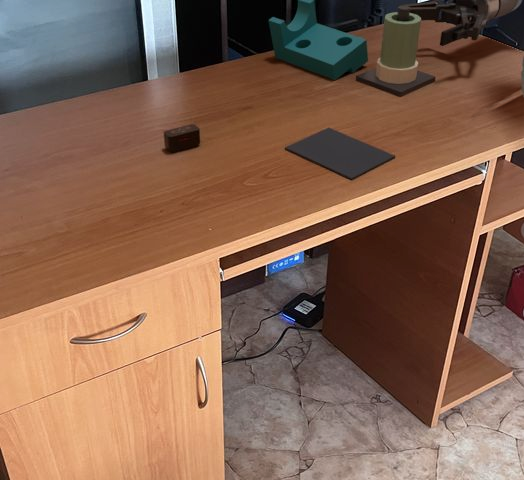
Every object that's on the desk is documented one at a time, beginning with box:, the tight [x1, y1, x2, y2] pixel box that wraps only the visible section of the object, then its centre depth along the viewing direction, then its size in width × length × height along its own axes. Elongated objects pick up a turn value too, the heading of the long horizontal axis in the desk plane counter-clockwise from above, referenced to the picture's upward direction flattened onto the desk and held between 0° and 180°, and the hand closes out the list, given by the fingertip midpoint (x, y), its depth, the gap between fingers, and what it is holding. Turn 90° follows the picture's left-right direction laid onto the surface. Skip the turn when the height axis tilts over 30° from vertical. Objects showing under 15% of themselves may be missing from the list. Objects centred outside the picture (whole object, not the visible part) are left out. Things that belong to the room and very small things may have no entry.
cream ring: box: [375, 57, 419, 84], centre depth 166 cm, size 8×8×3 cm
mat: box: [284, 127, 396, 181], centre depth 142 cm, size 16×12×1 cm
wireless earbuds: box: [163, 123, 201, 153], centre depth 143 cm, size 5×7×3 cm, turn 122°
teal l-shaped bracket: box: [268, 0, 369, 81], centre depth 171 cm, size 18×11×10 cm, turn 44°
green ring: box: [379, 11, 422, 69], centre depth 162 cm, size 7×7×9 cm
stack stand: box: [355, 5, 437, 98], centre depth 163 cm, size 12×12×15 cm
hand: (415, 30), depth 164 cm, fingers open, 13 cm apart
